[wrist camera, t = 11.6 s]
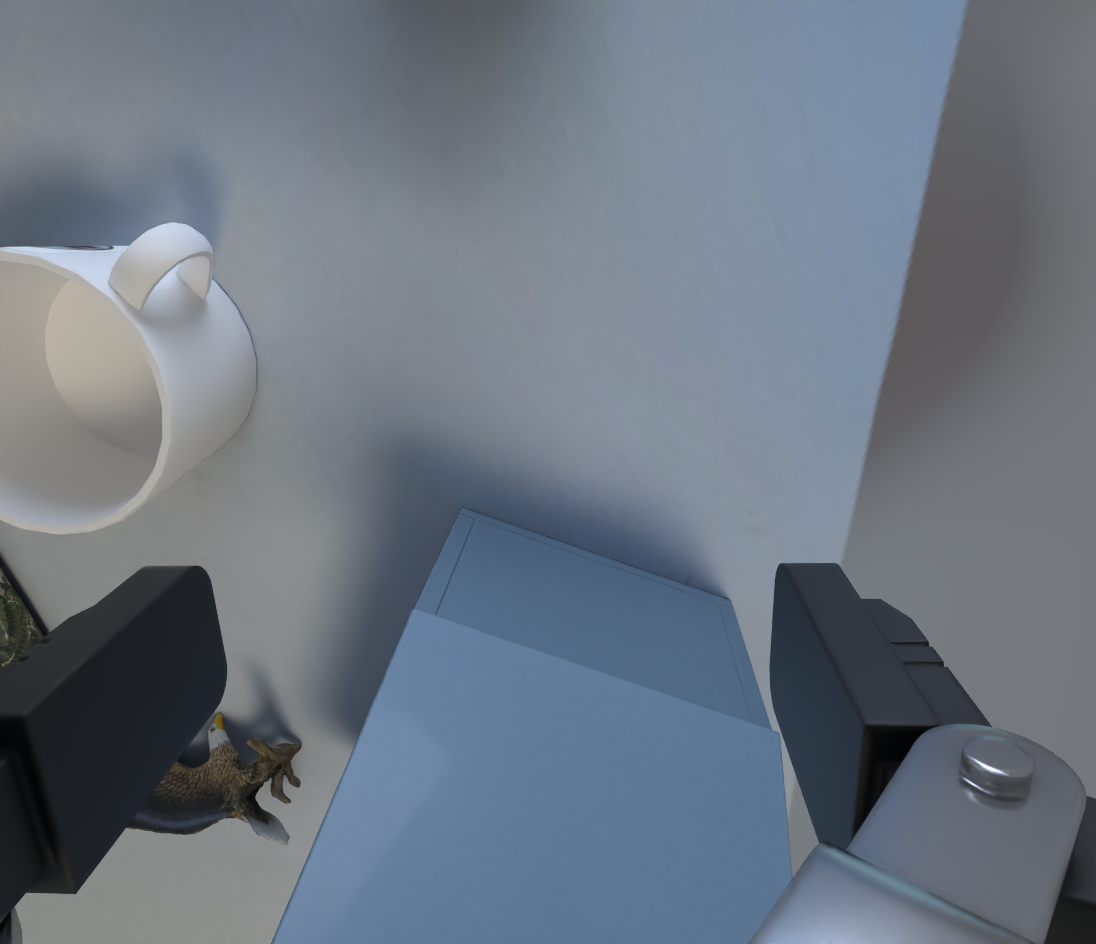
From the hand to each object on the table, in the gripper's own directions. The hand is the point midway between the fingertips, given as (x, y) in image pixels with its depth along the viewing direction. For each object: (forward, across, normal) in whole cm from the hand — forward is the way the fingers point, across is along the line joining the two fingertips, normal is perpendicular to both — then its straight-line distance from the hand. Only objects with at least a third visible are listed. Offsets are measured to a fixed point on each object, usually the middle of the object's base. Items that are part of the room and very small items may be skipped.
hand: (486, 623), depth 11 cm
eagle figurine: (+25, +19, +22) cm, 38 cm away
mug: (+25, +18, -1) cm, 30 cm away
